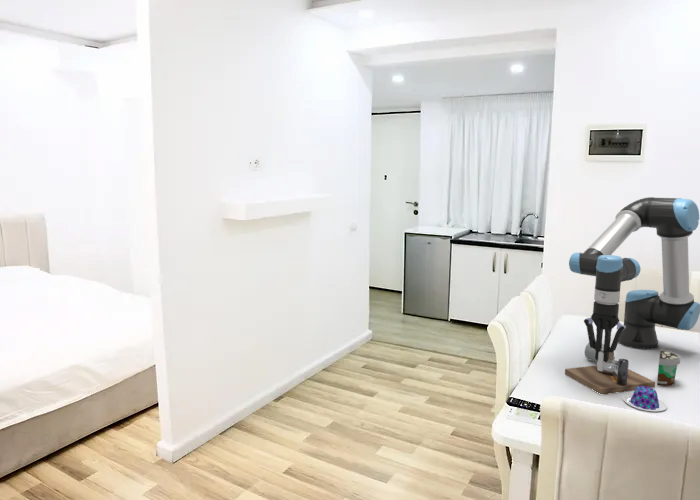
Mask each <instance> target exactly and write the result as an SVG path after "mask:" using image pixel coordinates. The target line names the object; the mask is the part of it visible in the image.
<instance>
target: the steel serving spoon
mask: <svg viewBox="0 0 700 500" xmlns="http://www.w3.org/2000/svg"><path fill="white" fill-rule="evenodd" d="M629 364H630V363H629V360H628V359H626V358H619V359H618V360H616V359H614V360H611V359H609V360H608V361H607V362H605V369H604V370H603V371H601V372H604V373H607V374H612V375H613V376H614V377H615V378H616V380H617V383H618V384H621V385H626V384H627V376H628V369H629ZM596 365H597V367H598V361H597V362H596Z"/></svg>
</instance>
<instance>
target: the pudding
mask: <svg viewBox="0 0 700 500" xmlns="http://www.w3.org/2000/svg"><path fill="white" fill-rule="evenodd" d="M633 391H634V392H632V394H631V393H630V394H626V395H625V396H623V398H622V399H623V402H625V403H626V404H628V406H630V407H634V408H636V409H639V410H642V411H647V412H663V411H665V410H666V409H667V408H668V406H667V404H666V403H665V402H664V401H663V400H660V399H659V397H658V392H657V391H656V390H655V388H650V387H646V386H637V387H636V389H635V390H633ZM628 398H631V400H630V403H629V402H627V399H628Z"/></svg>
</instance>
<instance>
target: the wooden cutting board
mask: <svg viewBox="0 0 700 500" xmlns="http://www.w3.org/2000/svg"><path fill="white" fill-rule="evenodd" d="M564 375H565V376H567V377H569V378H571V379H573V380H574V381H576V382H578V383H579V384H582V385H583V386H585V387H586V386H587V387H586V388H588V387H589V388H588V389H590V388H591V389H590V390H592V389H593V390H594V392H595V391H596V392H595V393H597V392H598V393H597V394H599V393H600V394H604V395H609V394H608V393H612V394H617V393H616V392H619V393H625V392H624V391H626V392H632V391H634V390H635V389H636V387H637V386H646V387H650V388H652V389H655V388H656V381H654V380H652V379H650V378H648V377H646V376H644V375H641V374H640V373H637V372H636V371H633V370H632V369H629V368H628V376H627V384H626V385H621V384H618V383H617V380H616V378H615V377H614V376H613V375H612V374H607V373H604V372H601V371H598V370H597V364H595V365H587V366H578V367H571V368H570V367H569V368H565V369H564ZM593 390H592V391H593ZM600 394H599V395H600Z"/></svg>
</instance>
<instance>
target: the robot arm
mask: <svg viewBox="0 0 700 500" xmlns="http://www.w3.org/2000/svg"><path fill="white" fill-rule="evenodd" d="M699 221H700V211H699V207H698V205H697V203H696V202H695V201H694V200H692V199H688V198H681V197H677V198H676V197H652V196H651V197H650V196H649V197H643V198H640V199H637V200H635V201H633V202H630V203H629V204H627V205H626V206H624V207H623V208H622V209H621V210H620V211H619V212H617V214H615V219H614V221H613V222H612V223H611V224H610V225H609V226H608V227H607V228H606V229H605V230H604V231H603V232H602V233H601V234H600V235H599V236H598V237H597V238H596V239H595V240H594V242H593V243H592V244H590V246H588V248H586V250H585V251H584V252H574V253H572V254H570V257H569V259H568V260H569V261H568V266H569V270H570V271H571V272H572V273H574V274H579V275H585V276H589V277H595V285H594V296H593V300H594V301H593V307H592V314H591V316H590V317H587V318H585V319H584V320H583V322H584V324H585V326H586V331H587V337H588V343H590V347H591V348H594V349H595V350H596V354H595V359H596V360H598V367H597V370H598V371H603V370H604V369H605V362H607V361H608V360H609V352H615V351H616V349H617V347H618V344H620V345H622V346H625V347H629V348H633V349H639V350H655V349H657V348H658V347H659V339H658V335H657V332H656V325H660V326H665V327H668V328H674V329H677V330H683V331H689V330H692V329H693V328H694V327H695V325H696V324H697V322H698V320H699V317H700V302H698V301H695V296H694V295H693V294H692V293H691V292H690V269H689V267H690V266H689V264H690V263H689V237H690V236H691V235H693V231H695V230H697V228H698V227H699ZM642 228H653V229H656V236H658V237H659V238H660V240H661V258H662V261H661V263H662V284H663V285H662V287H663V292H661V293H660V294H659V291H657V290H654V289H634V290H629V291H628V292H627V293H626V296H625V301H624V314H623V315H624V317H623V324H622V323H621V322H620V319H619V311H620V310H619V308H620V307H619V306H620V304H619V303H620V298H621V285H622V282H628V281H632V280H633V279H636V278H637V277H638V276H639V275H640V273H641V266H640V262H638V260H636V259H635V258H632V257H623V258H622V257H621V256H618V255H613V254H614V253H615V251H616V250H617V249H619V248H620V246H621V245H622V244H623V243H624V242H625V241H626V240H627V239H628V237H629V236H630V235H631V234H632V233H635V232H637V231H639V230H640V229H642ZM593 323H594V325H595V326H596V330H595V331H596V336H595V331H594V325H593ZM615 327H616V332H615V335H614V336H613V340H612V343H611V339H612V331H613V329H614V328H615ZM603 335H604V336H603ZM603 337H604V341H603ZM602 344H604V350H601V349H602Z"/></svg>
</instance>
